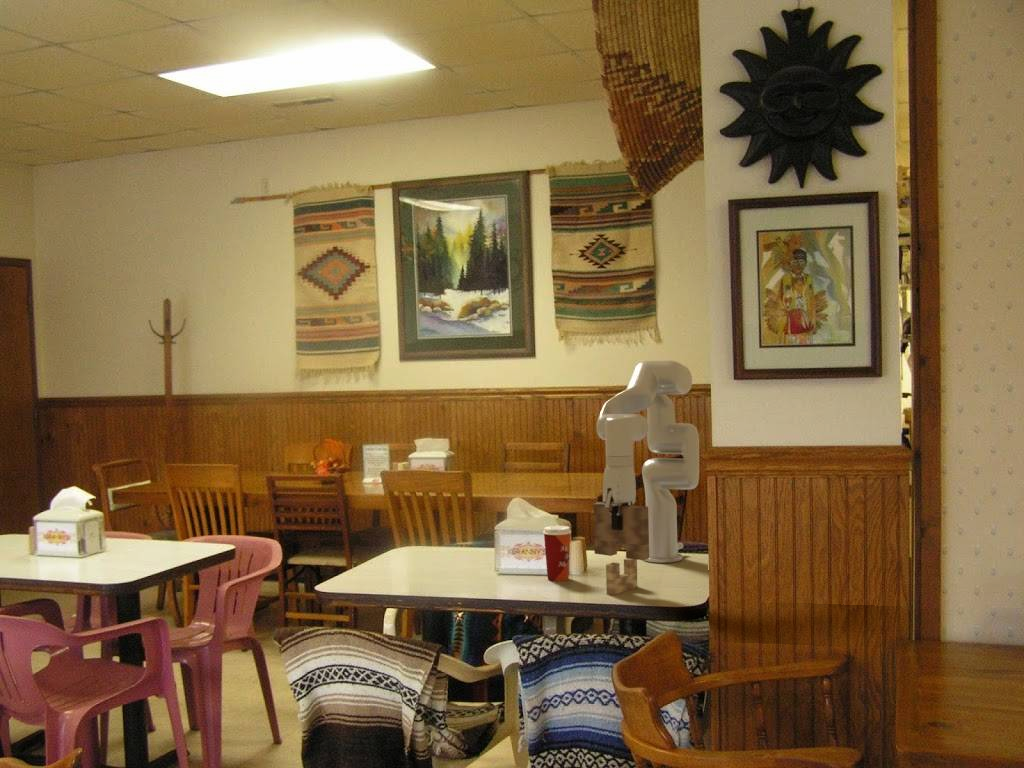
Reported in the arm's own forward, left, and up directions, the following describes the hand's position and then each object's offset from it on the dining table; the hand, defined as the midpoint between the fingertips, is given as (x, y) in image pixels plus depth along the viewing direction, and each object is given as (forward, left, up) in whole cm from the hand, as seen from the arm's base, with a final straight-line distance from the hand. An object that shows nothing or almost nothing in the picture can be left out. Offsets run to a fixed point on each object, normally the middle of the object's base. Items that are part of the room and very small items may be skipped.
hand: (621, 528), depth 289 cm
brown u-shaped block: (0, 0, -17) cm, 17 cm away
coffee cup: (-1, -23, -17) cm, 29 cm away
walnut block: (0, 0, -8) cm, 8 cm away
